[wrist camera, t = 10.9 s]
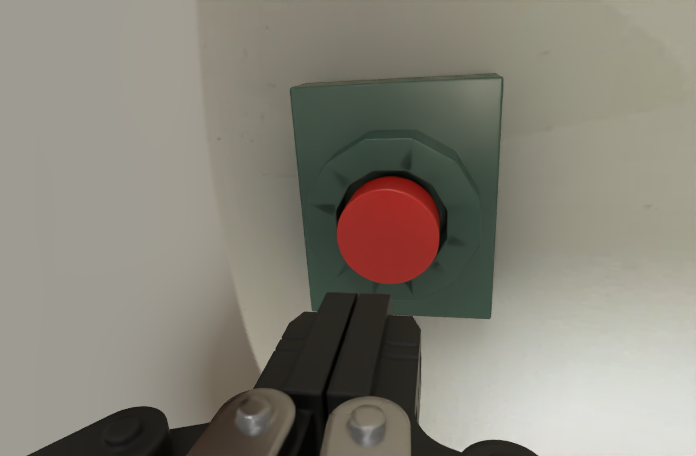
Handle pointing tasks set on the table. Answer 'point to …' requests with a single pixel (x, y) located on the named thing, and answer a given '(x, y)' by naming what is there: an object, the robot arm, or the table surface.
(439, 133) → the button block
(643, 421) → the table surface
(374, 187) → the stop button
